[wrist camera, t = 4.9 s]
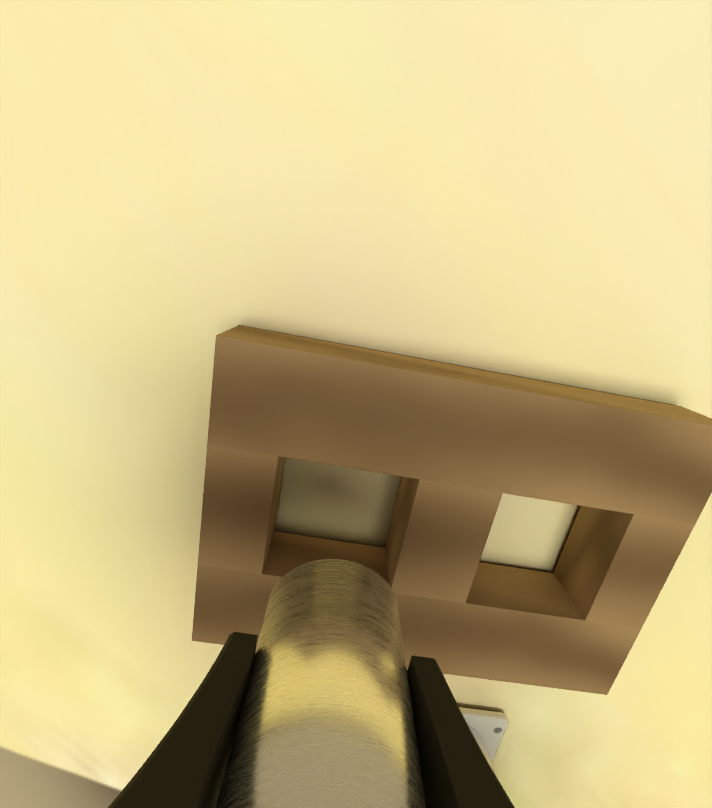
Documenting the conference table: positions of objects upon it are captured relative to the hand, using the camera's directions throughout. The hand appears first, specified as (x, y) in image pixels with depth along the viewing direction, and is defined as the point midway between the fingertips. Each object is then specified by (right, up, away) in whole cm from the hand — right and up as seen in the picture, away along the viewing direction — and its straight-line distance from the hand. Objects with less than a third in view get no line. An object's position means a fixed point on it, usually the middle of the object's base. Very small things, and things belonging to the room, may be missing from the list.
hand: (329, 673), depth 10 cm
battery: (0, +1, +2) cm, 2 cm away
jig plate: (+4, +2, +9) cm, 10 cm away
